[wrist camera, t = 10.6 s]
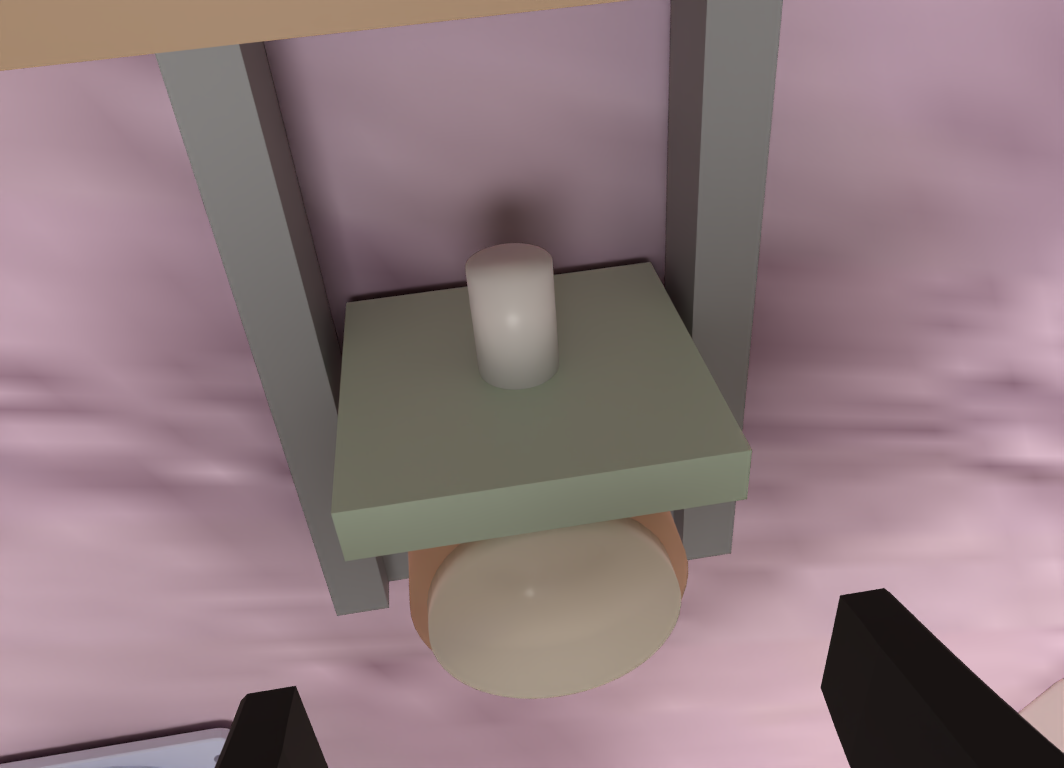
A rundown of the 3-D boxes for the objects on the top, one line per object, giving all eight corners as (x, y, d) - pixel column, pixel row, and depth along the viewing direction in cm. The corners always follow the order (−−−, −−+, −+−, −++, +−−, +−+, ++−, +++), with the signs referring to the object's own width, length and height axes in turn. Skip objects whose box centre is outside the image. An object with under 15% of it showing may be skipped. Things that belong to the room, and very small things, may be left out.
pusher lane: (717, 494, 22) (853, 792, 16) (328, 554, 21) (304, 891, 15) (773, -258, 13) (1162, -287, 6) (93, -197, 12) (-232, -159, 6)
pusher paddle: (649, 304, 18) (746, 499, 13) (355, 344, 18) (344, 560, 13) (651, 168, 16) (763, 336, 11) (324, 209, 16) (297, 402, 11)
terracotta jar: (633, 463, 21) (706, 671, 16) (435, 509, 21) (451, 732, 16) (605, 292, 18) (686, 487, 13) (375, 347, 18) (372, 562, 13)
